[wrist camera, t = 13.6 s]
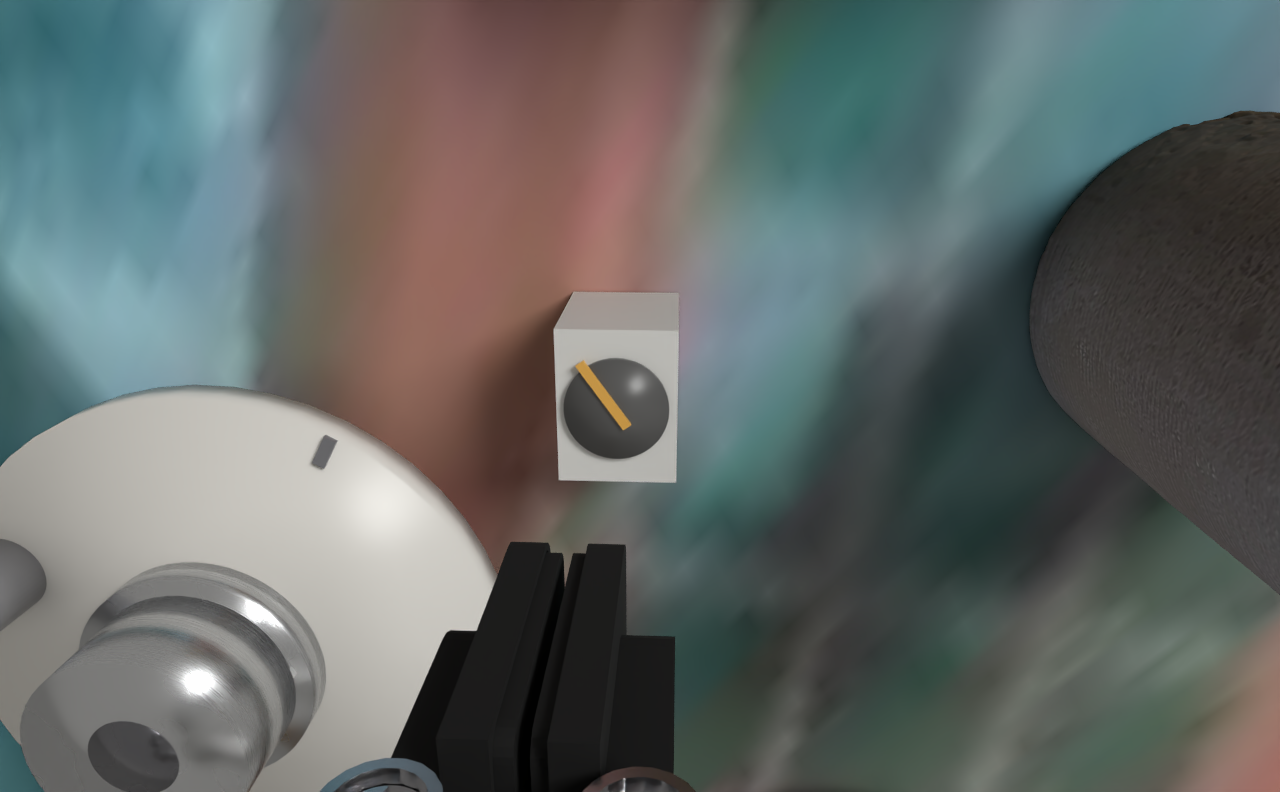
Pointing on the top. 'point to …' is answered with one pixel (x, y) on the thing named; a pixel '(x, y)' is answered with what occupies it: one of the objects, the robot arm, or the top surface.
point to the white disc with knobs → (241, 548)
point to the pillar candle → (1178, 324)
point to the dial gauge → (617, 387)
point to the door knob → (177, 688)
